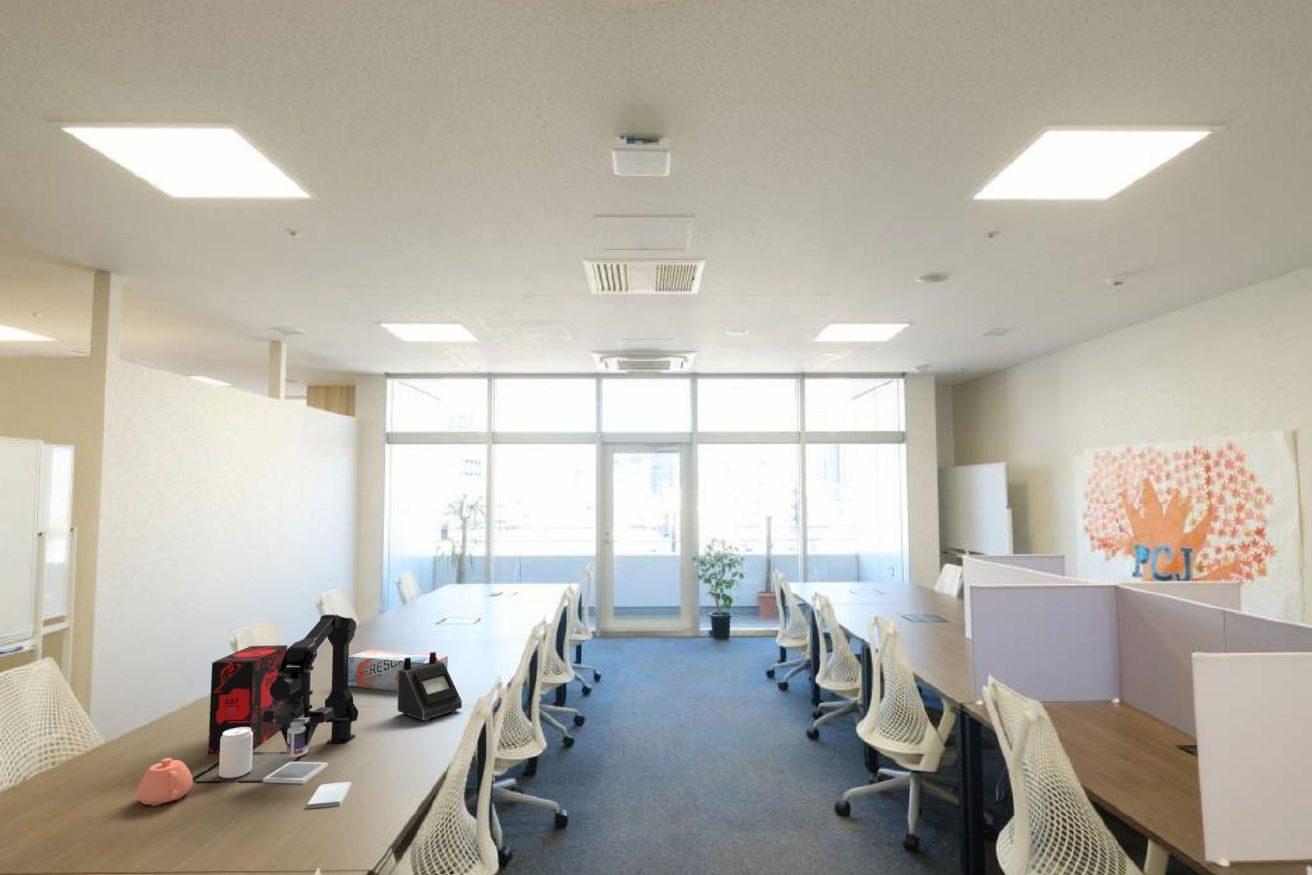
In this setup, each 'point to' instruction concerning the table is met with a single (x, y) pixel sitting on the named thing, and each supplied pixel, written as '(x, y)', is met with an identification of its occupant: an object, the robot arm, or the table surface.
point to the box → (244, 693)
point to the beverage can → (236, 752)
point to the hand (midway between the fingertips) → (297, 744)
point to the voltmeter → (426, 690)
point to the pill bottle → (296, 738)
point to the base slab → (295, 772)
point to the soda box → (382, 668)
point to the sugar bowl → (164, 782)
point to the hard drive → (329, 795)
